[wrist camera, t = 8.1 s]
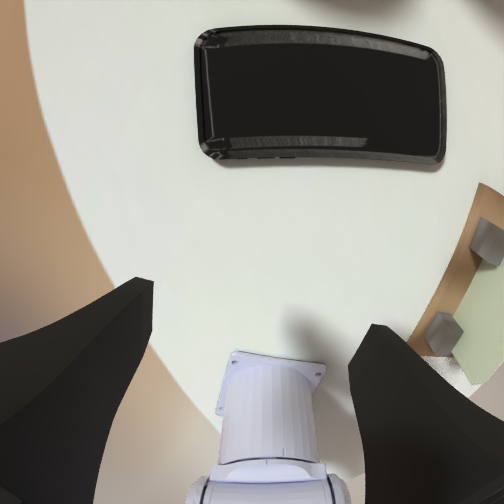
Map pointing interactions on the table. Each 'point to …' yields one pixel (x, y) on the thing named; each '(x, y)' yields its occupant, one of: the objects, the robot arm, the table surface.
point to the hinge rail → (461, 274)
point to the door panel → (482, 324)
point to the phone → (318, 95)
